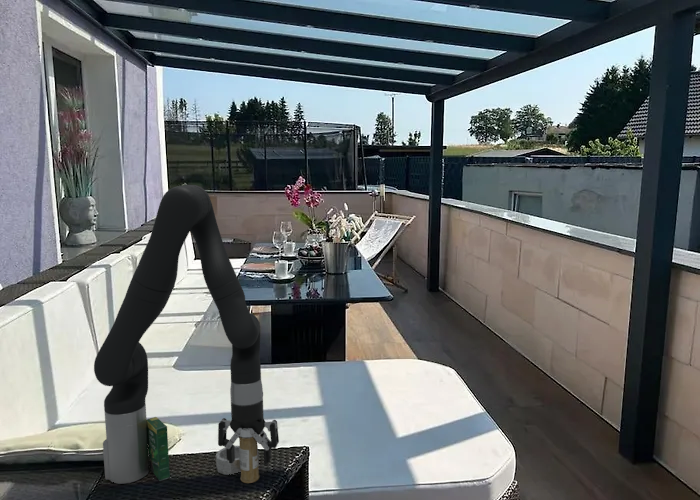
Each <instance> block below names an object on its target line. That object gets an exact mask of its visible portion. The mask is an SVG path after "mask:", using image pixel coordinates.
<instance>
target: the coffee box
mask: <svg viewBox="0 0 700 500" xmlns="http://www.w3.org/2000/svg"><path fill="white" fill-rule="evenodd" d="M146 419H147V418H146ZM147 436H148V453H149V470H150V471H151V472H152V474H153V475H154V476H155V478H156V479H157V480H158V481H159V482H162V481H165V480H167V479H169V478H170V477H171V475H170V473H171V472H170V457H169V455H170V454H169V439H168V438H169V437H168V426H167V425H166V424H165V423H164V422H163V421H161V419H159V418H158V417H157V416H154V417H151V418H148V419H147Z"/></svg>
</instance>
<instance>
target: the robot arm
mask: <svg viewBox="0 0 700 500" xmlns="http://www.w3.org/2000/svg"><path fill="white" fill-rule="evenodd" d="M155 216H156V217H155V220H154V223H153V227H152V229H151V230H152V231H151V233H150V237H149V240H148V242H147V243H146V246H145V248H144V250H143V252H142V255H141V258H140V259H139V262H138V264H137V266H136V269H135V271H134V273H133V275H132V278H131V280H130V282H129V285H128V287H127V291H126V293H125V295H124V299H123V301H122V303H121V305H120V307H119V310H118V313H117V314H116V317H115V320H114V323H113V324H112V326H111V328H110V330H109V332H108V334H107V336H106V338H105V339H104V342H103V343H102V345H101V346H100V349H99V350H98V352H97V354H96V356H95V359H94V364H93V372H94V375H95V376H94V377H95V378H96V380H97V381H98V382H99V384H101V385H103V386H105V387H111V389H110V391H109V392H108V393H107V395H106V396H105V397H104V400H103V409H104V423H105V438H106V439H105V440H103V442H102V452H103V453H102V454H103V464H104V467H103V468H104V479H105V480H109V481H110V482H112V483H113V482H114V484H119V485H121V484H130V483H133V482H137V481H139V480H141V479H143V478H144V477H146V476H147V475H148V474H149V472H150V466H149V451H148V436H147V407H146V397H147V395H148V391H149V363H148V361H149V359H148V355H147V351H146V349H145V347H144V346H143V345H142V344H141V342H140V341H141V339H142V338H143V336H144V335H145V333H146V332H147V331H148V330H149V328H150V327H151V326H152V325H153V323H155V321H156V320H157V319H158V317H159V316H160V315H161V313H162V312H163V311H164V309H165V307H167V306H166V305H167V303H168V301H169V299H170V297H171V294H172V293H173V290H174V287H175V285H176V282H177V278H178V269H179V268H178V267H179V257H180V253H181V251H182V247H183V245H184V243H185V241H186V239H187V238H188V236H189V234H190V233H191V235H192V237H193V239H194V241H195V245H196V246H197V250H198V254H199V258H200V259H199V260H200V264H201V270H202V275H203V279H204V282H205V284H206V287H207V289H208V292H209V294H210V295H211V296H210V297H211V298H212V301H213V302H214V305H215V307H216V308H217V311H218V314H219V318H220V321H221V324H222V328H223V330H224V333H225V335H226V338H227V339H228V341H229V342H230V344H231V347H232V348H231V349H232V351H231V352H232V353H231V354H232V355H231V358H230V390H229V391H230V412H231V413H230V414H231V415H230V416H231V420H227V418H226V417H223V418H222V419H221V420H220V421H219V422H218V424H217V425H218V426H217V427H218V429H217V431H218V432H217V433H218V434H217V444H218V446H219V447H223V448H225V447H226V452H227V460H228V461H229V463H233V462H234V460H235V449H234V446H235V444H234V443H235V442H236V441H237V440H238V439H239V436H240V434H241V430H243V428H249V431H250V434H251V435H252V436H253V437H254V439H255V440H256V441H257V444H258V445H261V447H262V448H263V450H262V451H263V465H264V466H267V465H268V464H269V463H270V461H271V460H272V449H276V448H277V447H278V444H279V442H280V439H279V431H278V429H279V427H278V421H277V420H276V419H273V420H272V421H265V418H264V390H263V383H262V369H261V367H262V366H261V359H260V358H261V357H260V355H261V354H260V352H261V350H260V349H261V324H260V321H259V319H258V317H256V315H254V314H253V313H251V312H250V310H249V308H248V305H247V303H246V295H245V292H244V290H243V289H244V288H242V284H241V282H240V280H239V278H238V276H237V274H236V271H235V269H234V267H233V265H232V264H233V263H232V262H231V260H230V258H229V255H228V253H227V250H226V247H225V245H224V241H223V238H222V236H221V233H220V229H219V226H218V222H217V219H216V214H215V211H214V206H213V203H212V200H211V197H210V195H209V193H208V192H207V191H206V189H204V188H203V187H201V186H199V185H196V184H183V185H177V186H174V187H172V188H169V189H168V190H167V191H166V192H165V193H164V194H163V196H162V198H161V199H160V203H159V204H158V209H157V212H156V215H155ZM229 427H230V429H231V430H232V432H233V433H234V434H232V436H231V438H230V439H228V438H227V431H228V428H229ZM265 428H266V430H267V431H268V432H269V435H270V439H269V437H268V434H267V433H266V432H265V431H264V430H265Z"/></svg>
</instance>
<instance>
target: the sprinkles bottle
mask: <svg viewBox="0 0 700 500" xmlns="http://www.w3.org/2000/svg"><path fill="white" fill-rule="evenodd" d="M238 439H239V441H238V442H239V445H238V446H239V451H240V468H241V473H240V482H242V483H244V484H252V483H253V484H254V483H255V482H257V481H258V480H259V479H260V473H259V449H258V448H259V447H258V442H257V441H256V440H255V439H254V437H253V436H252V435H251V434H250V431H249V428H243V430H241V434H240V436H239V438H238Z"/></svg>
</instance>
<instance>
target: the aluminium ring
mask: <svg viewBox="0 0 700 500" xmlns="http://www.w3.org/2000/svg"><path fill="white" fill-rule="evenodd" d="M239 446H240V445H234V449H235V460H234V462H233V463H229V461H228V460H227V452H226V447H222V448H221V449H218V451H217V453H216V454H215V461H216V462H215V464H216V471H217V472H218V473H220V474H222V475H227V476H228V475H229V474H230V475H229V476H232V475H231V474H233V475H235V474H234V473H238V472H241V468H240V451H239ZM238 474H239V473H238Z"/></svg>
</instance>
